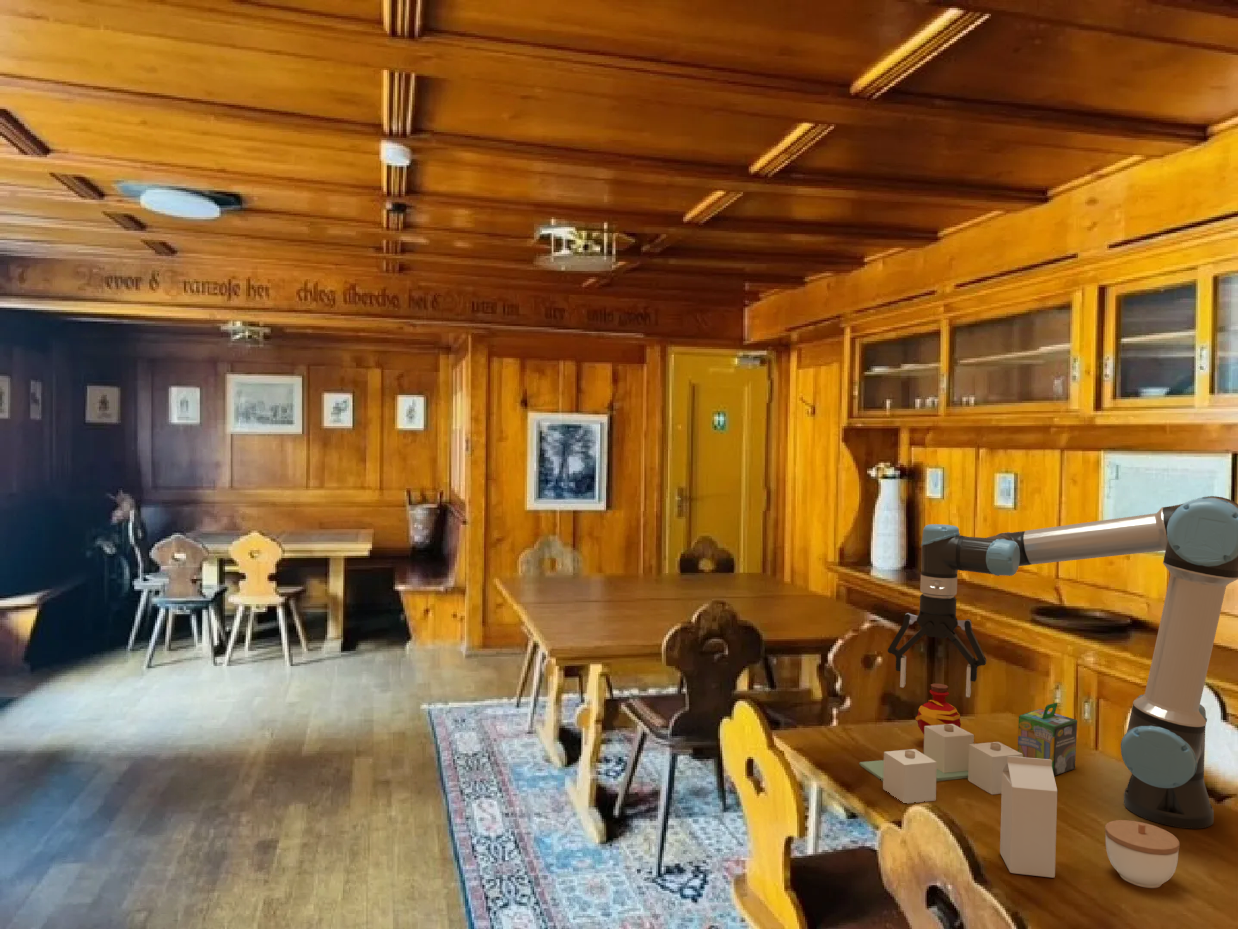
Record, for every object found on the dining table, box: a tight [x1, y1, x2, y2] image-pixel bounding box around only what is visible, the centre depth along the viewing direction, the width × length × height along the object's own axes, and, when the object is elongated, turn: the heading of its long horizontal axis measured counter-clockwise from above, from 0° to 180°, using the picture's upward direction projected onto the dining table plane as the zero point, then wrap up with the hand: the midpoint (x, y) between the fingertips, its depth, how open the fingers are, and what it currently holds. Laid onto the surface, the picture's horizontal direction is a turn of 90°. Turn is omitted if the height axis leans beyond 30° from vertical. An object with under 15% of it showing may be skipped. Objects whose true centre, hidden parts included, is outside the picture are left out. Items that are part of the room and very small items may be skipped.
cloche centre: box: [923, 724, 975, 773], centre depth 190 cm, size 8×8×9 cm
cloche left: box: [882, 748, 937, 804], centre depth 175 cm, size 8×8×9 cm
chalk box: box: [1017, 702, 1078, 777], centre depth 192 cm, size 9×9×15 cm
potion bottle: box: [915, 683, 962, 735], centre depth 203 cm, size 10×10×15 cm
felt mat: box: [859, 759, 968, 782], centre depth 188 cm, size 12×24×1 cm, turn 105°
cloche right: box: [967, 741, 1023, 795], centre depth 180 cm, size 8×8×9 cm
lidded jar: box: [1104, 819, 1181, 889], centre depth 142 cm, size 11×11×9 cm
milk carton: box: [999, 756, 1058, 878], centre depth 145 cm, size 7×7×19 cm
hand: (934, 690), depth 184 cm, fingers open, 13 cm apart
